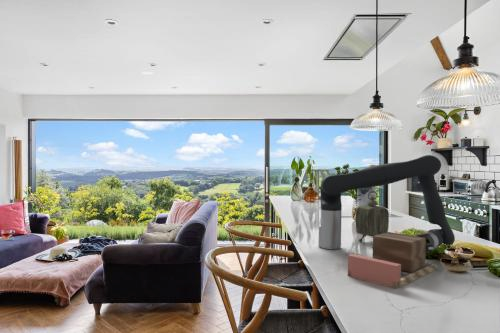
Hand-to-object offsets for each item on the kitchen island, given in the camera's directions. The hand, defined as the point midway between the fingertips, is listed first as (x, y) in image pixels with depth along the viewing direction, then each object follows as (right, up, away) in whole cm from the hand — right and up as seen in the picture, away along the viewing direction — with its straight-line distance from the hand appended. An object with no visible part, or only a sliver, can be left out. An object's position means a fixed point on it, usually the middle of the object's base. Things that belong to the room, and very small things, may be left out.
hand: (406, 248), depth 140 cm
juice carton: (+7, -6, +70) cm, 71 cm away
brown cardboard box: (-4, -5, -4) cm, 8 cm away
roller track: (-7, -7, -7) cm, 12 cm away
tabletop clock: (+2, -7, +44) cm, 44 cm away
